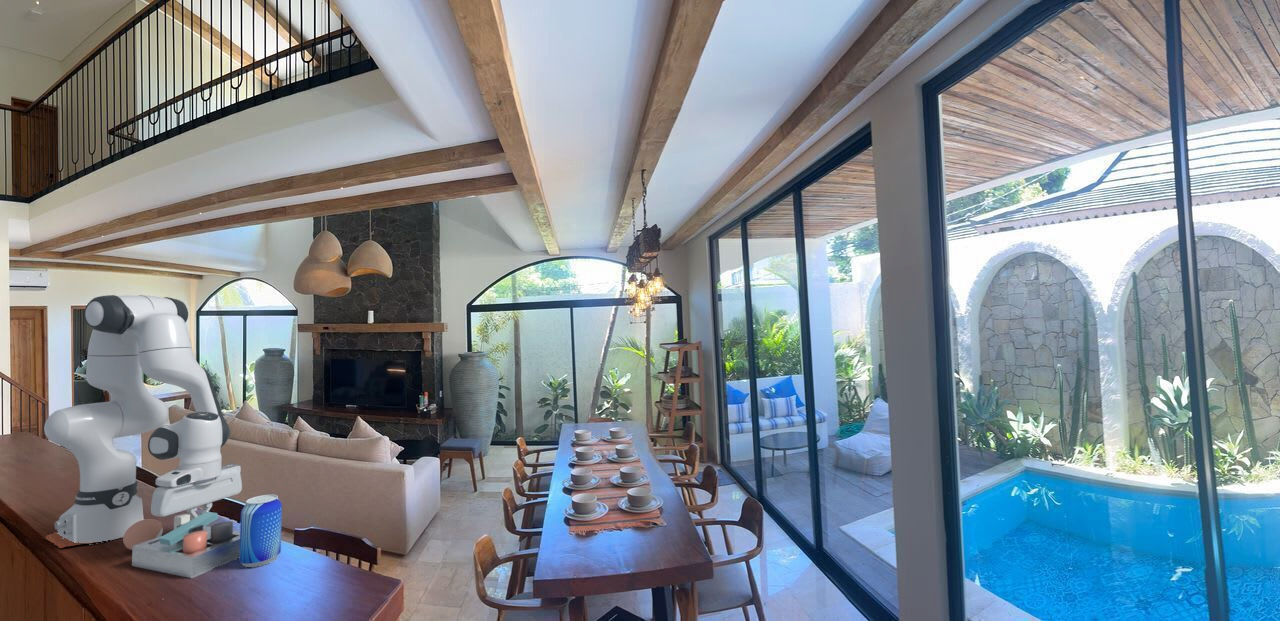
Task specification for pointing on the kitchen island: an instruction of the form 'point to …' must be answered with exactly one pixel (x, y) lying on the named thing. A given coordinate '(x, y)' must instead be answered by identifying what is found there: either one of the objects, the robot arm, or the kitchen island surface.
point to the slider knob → (181, 519)
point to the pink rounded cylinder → (194, 542)
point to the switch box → (185, 555)
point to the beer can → (260, 530)
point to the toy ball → (142, 532)
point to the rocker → (187, 528)
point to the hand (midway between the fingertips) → (198, 521)
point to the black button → (221, 532)
